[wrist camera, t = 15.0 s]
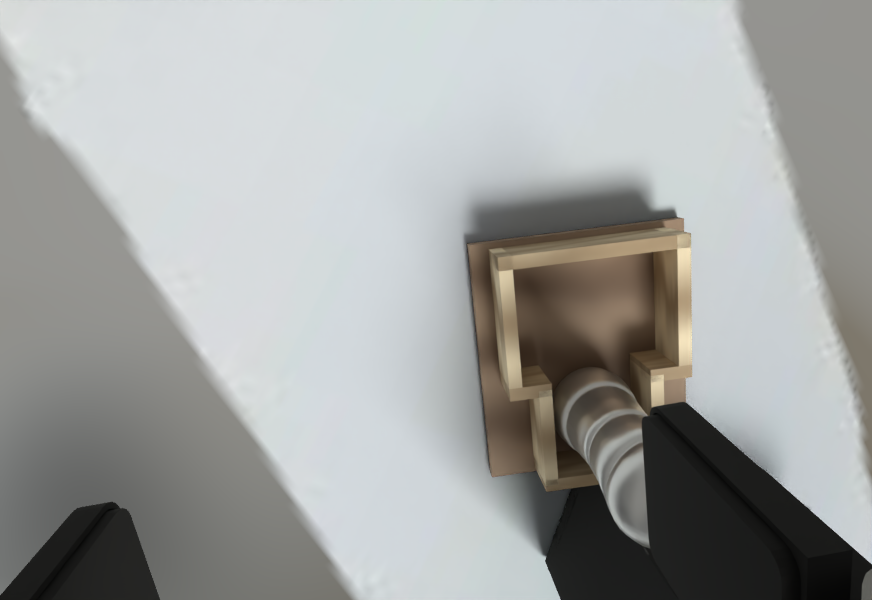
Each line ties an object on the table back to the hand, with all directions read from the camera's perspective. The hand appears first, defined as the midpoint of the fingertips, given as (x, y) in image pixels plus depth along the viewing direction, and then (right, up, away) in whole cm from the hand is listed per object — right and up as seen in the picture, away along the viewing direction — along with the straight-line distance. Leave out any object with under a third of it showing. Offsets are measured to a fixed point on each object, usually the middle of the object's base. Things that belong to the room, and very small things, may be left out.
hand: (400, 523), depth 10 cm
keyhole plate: (+13, 0, +38) cm, 40 cm away
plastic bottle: (+13, -4, +38) cm, 40 cm away
